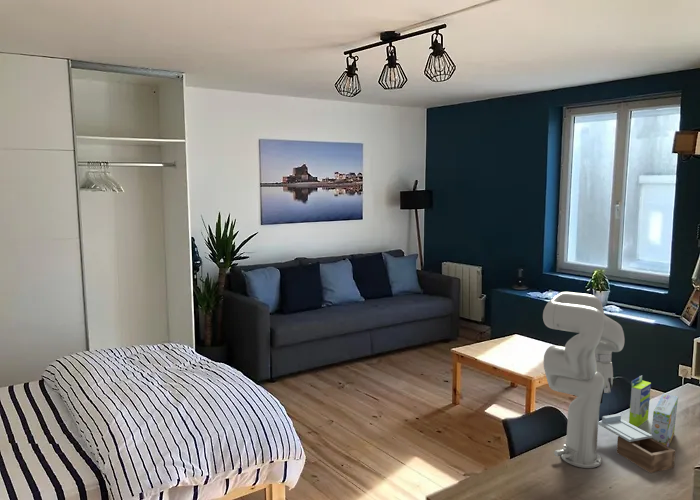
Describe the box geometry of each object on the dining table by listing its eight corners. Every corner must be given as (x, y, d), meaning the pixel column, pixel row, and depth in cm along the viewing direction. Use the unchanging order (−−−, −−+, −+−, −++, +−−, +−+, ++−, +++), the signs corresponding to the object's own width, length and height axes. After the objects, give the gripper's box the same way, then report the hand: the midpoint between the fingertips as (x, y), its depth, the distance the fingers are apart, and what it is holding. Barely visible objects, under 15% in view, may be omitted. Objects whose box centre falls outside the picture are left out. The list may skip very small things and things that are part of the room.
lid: (629, 442, 186) (630, 434, 185) (598, 424, 199) (598, 417, 198) (652, 437, 189) (653, 429, 189) (620, 420, 202) (620, 413, 202)
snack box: (666, 457, 189) (670, 415, 187) (648, 452, 192) (651, 410, 190) (675, 434, 205) (678, 395, 203) (658, 430, 209) (661, 391, 207)
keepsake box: (650, 473, 178) (651, 455, 177) (616, 452, 191) (617, 436, 190) (673, 468, 181) (675, 450, 181) (639, 448, 194) (640, 432, 194)
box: (638, 427, 210) (642, 384, 208) (627, 424, 213) (630, 381, 211) (649, 419, 217) (652, 377, 215) (638, 416, 220) (641, 374, 218)
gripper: (577, 350, 209) (574, 396, 212) (607, 364, 195) (604, 412, 198) (593, 348, 212) (590, 393, 215) (624, 361, 198) (620, 409, 201)
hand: (597, 402), depth 206 cm, fingers closed
